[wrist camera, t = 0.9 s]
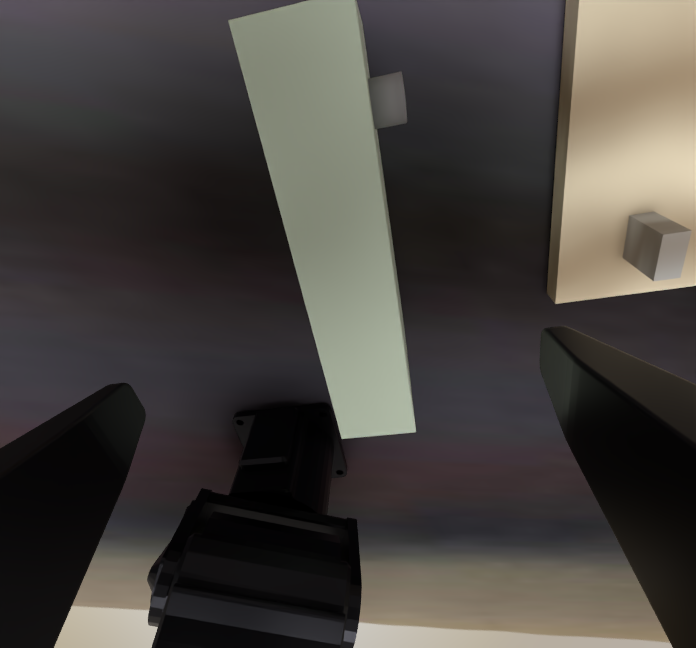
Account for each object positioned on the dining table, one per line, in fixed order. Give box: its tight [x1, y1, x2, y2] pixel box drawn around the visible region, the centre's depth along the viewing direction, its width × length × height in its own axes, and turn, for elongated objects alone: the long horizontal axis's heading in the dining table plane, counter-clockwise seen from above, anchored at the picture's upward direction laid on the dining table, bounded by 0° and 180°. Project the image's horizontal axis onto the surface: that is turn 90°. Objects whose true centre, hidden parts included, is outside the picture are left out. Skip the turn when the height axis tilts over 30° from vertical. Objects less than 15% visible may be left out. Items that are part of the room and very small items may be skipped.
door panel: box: [228, 0, 416, 439], centre depth 16 cm, size 14×4×8 cm, turn 11°
